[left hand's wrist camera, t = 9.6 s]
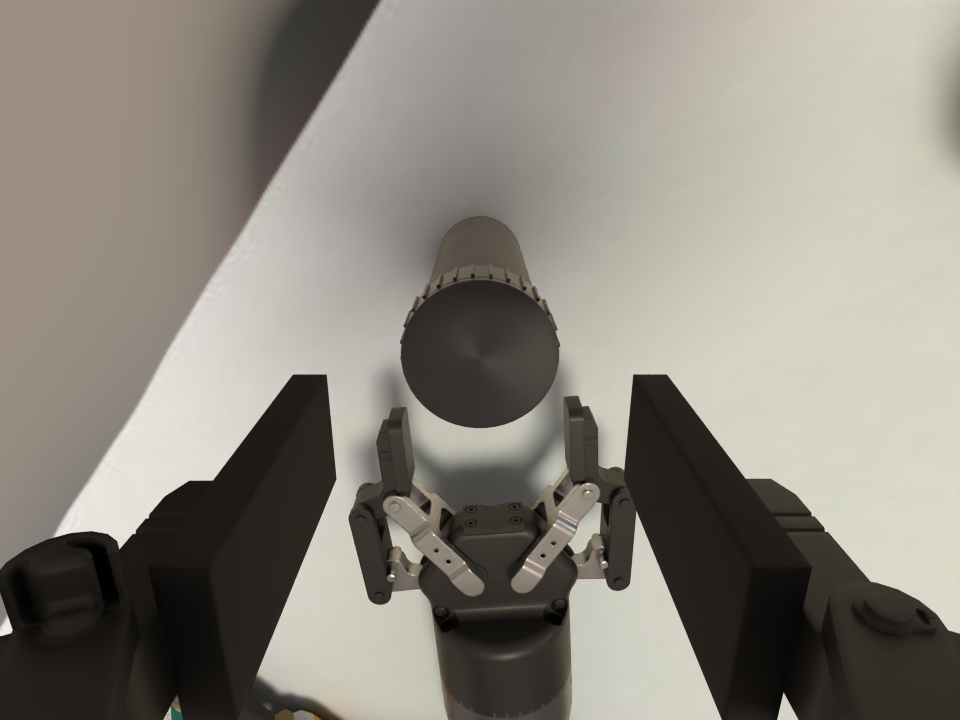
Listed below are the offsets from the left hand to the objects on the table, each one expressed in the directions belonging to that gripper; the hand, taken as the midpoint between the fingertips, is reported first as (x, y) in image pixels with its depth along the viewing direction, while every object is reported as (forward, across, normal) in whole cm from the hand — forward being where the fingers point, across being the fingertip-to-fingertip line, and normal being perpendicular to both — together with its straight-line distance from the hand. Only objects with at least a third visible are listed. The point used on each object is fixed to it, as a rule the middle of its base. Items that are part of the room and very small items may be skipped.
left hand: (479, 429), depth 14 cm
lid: (+5, 0, 0) cm, 5 cm away
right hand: (+14, 0, +6) cm, 15 cm away
